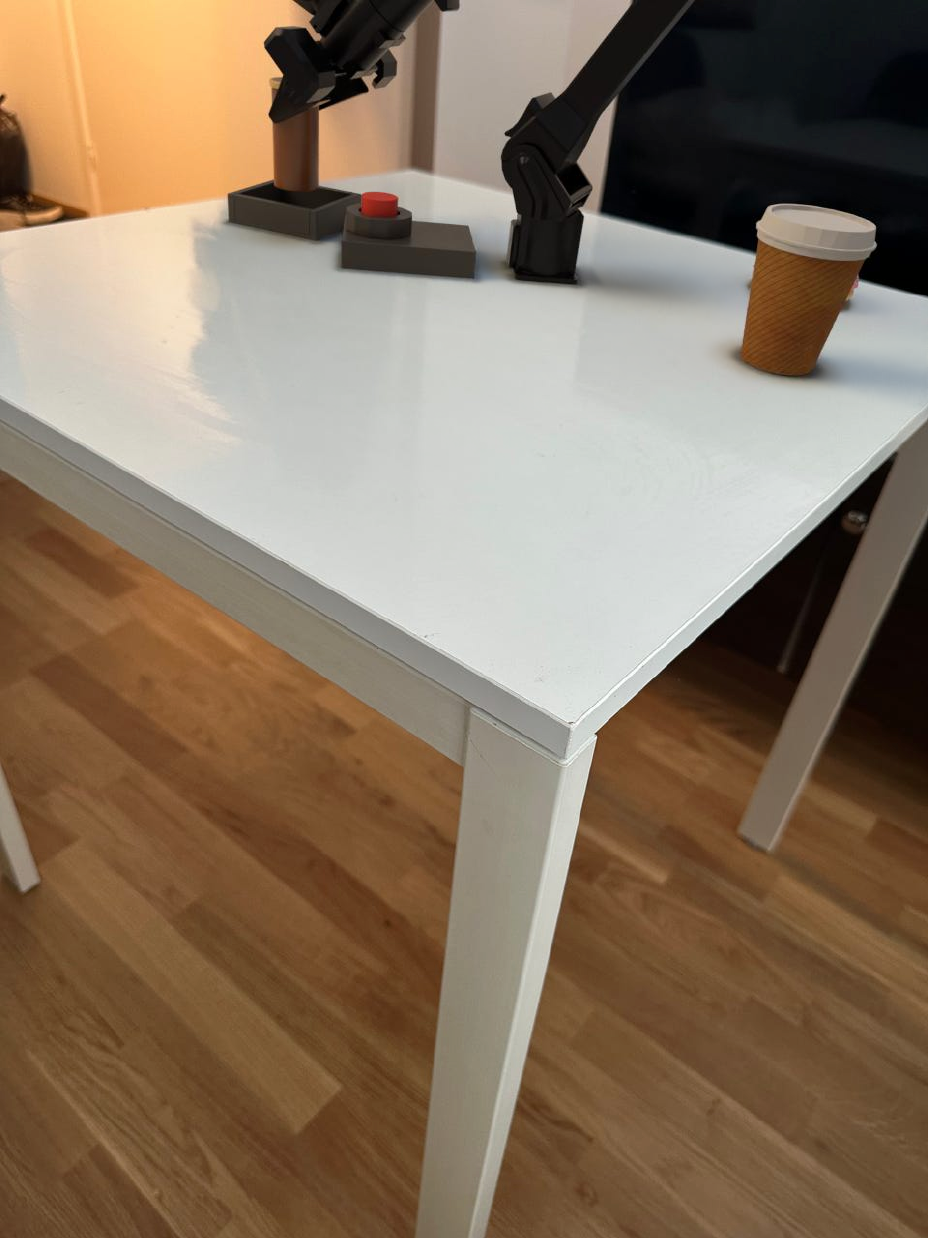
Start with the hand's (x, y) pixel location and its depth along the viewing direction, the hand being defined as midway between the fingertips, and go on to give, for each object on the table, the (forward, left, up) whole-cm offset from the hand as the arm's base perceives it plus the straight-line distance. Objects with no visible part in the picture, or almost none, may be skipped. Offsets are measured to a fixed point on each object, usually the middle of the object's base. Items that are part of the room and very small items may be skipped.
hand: (284, 116), depth 97 cm
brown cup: (-1, +1, -7) cm, 7 cm away
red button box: (-13, +12, -10) cm, 20 cm away
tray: (-1, +1, -10) cm, 10 cm away
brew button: (-10, +12, -6) cm, 17 cm away
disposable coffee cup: (-45, +34, -10) cm, 57 cm away
